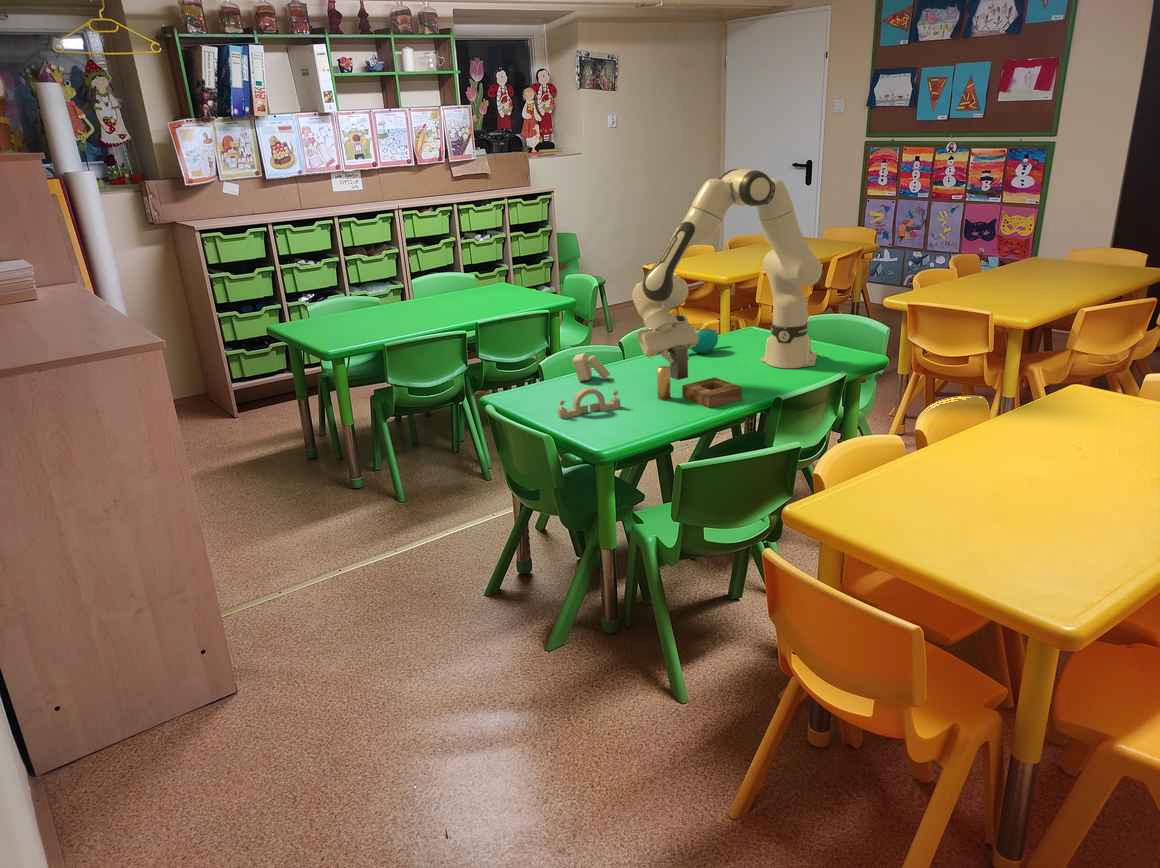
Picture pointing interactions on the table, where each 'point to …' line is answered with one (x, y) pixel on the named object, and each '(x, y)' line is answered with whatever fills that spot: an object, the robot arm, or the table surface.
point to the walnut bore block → (712, 392)
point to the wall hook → (588, 367)
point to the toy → (705, 340)
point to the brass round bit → (663, 382)
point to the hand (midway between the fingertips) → (680, 361)
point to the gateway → (593, 407)
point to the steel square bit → (679, 362)
